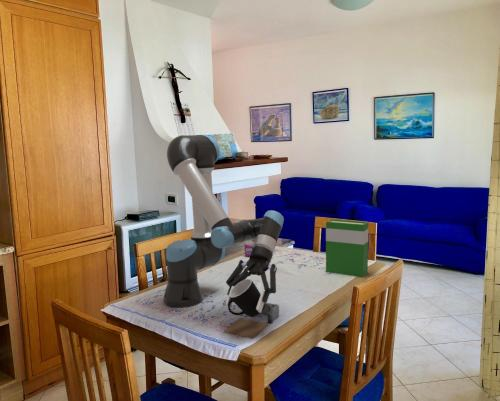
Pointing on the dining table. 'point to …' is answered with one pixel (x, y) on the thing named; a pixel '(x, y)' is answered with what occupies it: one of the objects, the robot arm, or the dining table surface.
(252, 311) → the mug
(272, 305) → the grey l-shaped bracket
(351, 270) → the hardback book
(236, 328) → the coaster
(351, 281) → the dining table surface
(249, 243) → the candy bar box
